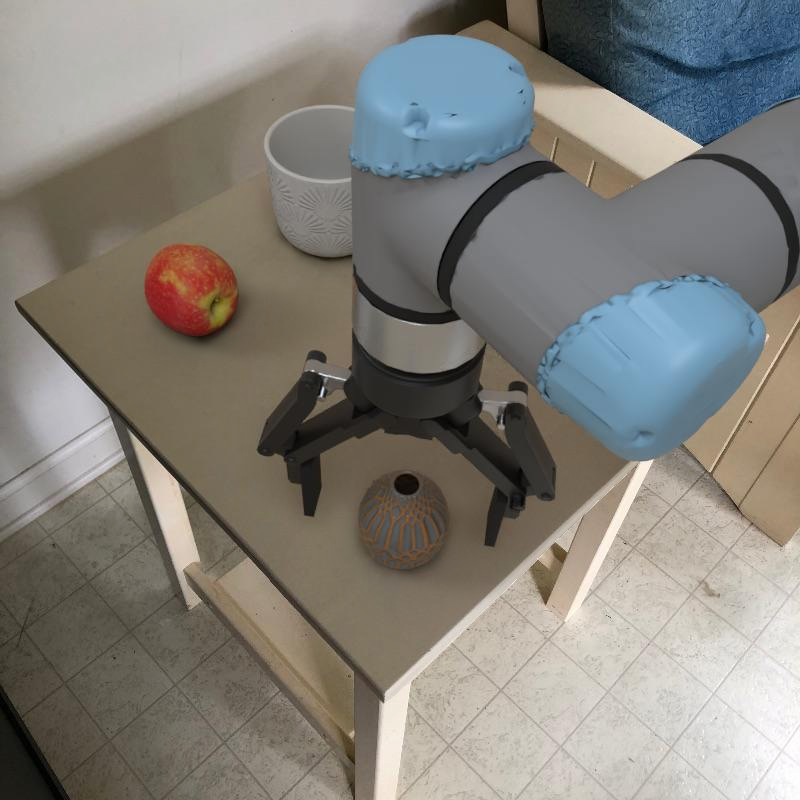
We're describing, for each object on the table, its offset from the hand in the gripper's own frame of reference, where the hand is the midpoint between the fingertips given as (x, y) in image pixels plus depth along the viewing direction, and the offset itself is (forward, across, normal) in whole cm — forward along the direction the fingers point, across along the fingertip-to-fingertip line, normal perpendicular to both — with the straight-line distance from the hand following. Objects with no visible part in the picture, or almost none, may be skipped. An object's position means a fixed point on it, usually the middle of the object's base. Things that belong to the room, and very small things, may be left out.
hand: (401, 515), depth 62 cm
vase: (+4, 0, 0) cm, 4 cm away
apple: (+4, +23, -20) cm, 30 cm away
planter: (+4, +13, -35) cm, 37 cm away
